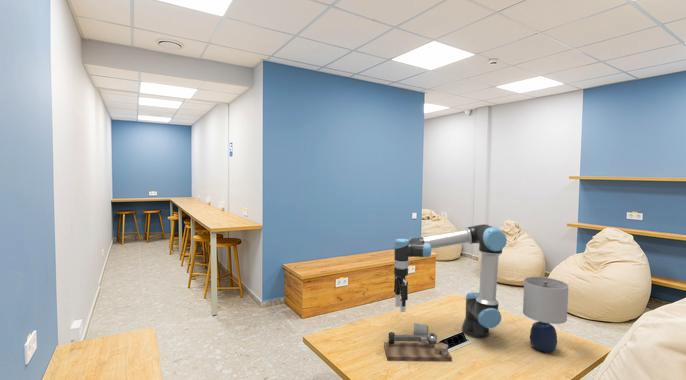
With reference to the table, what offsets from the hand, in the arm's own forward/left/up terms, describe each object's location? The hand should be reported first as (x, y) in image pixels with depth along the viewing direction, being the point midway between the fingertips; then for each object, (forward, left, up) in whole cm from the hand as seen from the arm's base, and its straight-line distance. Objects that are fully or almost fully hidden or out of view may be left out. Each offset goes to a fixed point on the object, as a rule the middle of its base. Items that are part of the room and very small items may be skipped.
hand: (400, 308), depth 193 cm
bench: (-7, +11, -19) cm, 23 cm away
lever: (-6, +7, -16) cm, 18 cm away
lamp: (-76, +5, -19) cm, 79 cm away
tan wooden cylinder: (-18, +14, -17) cm, 28 cm away
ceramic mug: (-13, -8, -19) cm, 25 cm away
